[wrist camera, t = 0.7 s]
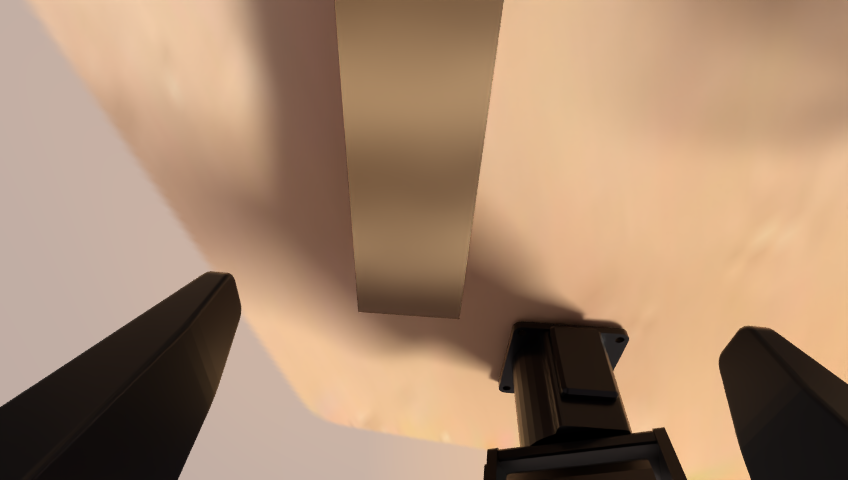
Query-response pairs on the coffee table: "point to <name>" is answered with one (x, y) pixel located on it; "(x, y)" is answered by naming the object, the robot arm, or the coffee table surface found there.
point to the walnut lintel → (414, 144)
